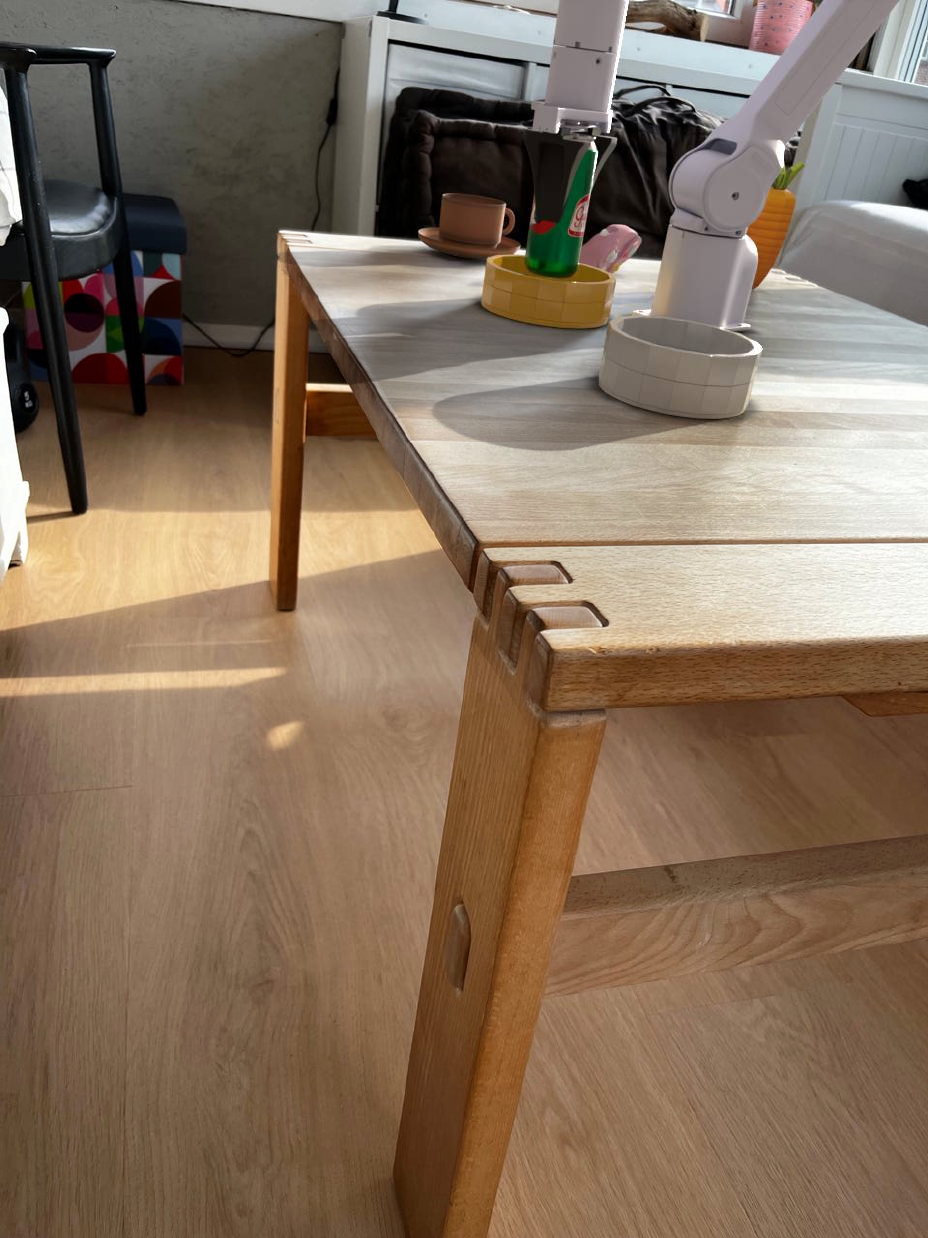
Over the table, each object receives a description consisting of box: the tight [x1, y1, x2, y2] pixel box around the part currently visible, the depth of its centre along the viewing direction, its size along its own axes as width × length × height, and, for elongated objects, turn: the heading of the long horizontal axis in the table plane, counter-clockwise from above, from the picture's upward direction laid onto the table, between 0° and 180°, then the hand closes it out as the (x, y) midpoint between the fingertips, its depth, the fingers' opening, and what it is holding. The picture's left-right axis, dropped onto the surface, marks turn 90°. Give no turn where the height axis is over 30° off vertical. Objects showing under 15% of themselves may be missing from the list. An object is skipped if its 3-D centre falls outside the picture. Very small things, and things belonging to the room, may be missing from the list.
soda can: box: [524, 132, 598, 278], centre depth 93 cm, size 5×5×12 cm
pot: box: [598, 315, 764, 420], centre depth 77 cm, size 11×11×4 cm
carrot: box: [746, 160, 806, 291], centre depth 120 cm, size 5×5×15 cm
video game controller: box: [579, 223, 643, 275], centre depth 118 cm, size 10×5×7 cm, turn 148°
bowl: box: [480, 253, 617, 329], centre depth 97 cm, size 12×12×4 cm
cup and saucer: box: [417, 192, 521, 260], centre depth 119 cm, size 12×12×6 cm
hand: (559, 218), depth 94 cm, fingers closed on soda can, 5 cm apart
